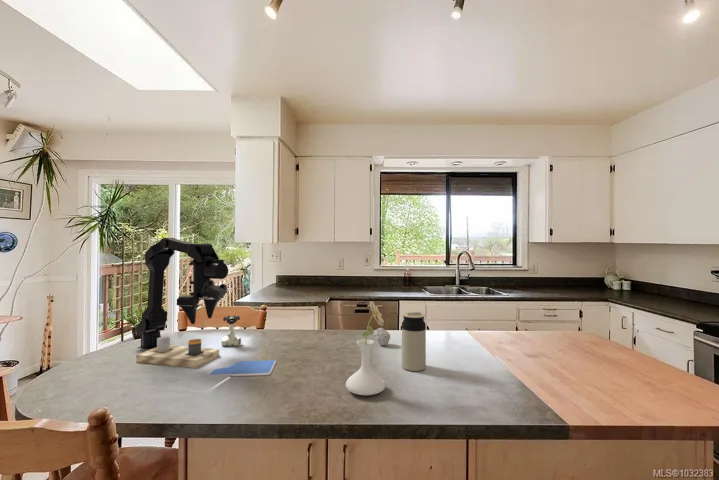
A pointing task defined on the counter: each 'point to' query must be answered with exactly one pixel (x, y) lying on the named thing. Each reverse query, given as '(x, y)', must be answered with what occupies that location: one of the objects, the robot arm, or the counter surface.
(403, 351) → the travel mug
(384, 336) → the crumpled paper ball
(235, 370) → the tablet computer
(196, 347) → the capped plug
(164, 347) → the grey plug
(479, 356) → the counter surface
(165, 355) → the wooden socket board
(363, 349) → the flower in vase
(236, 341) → the valve
